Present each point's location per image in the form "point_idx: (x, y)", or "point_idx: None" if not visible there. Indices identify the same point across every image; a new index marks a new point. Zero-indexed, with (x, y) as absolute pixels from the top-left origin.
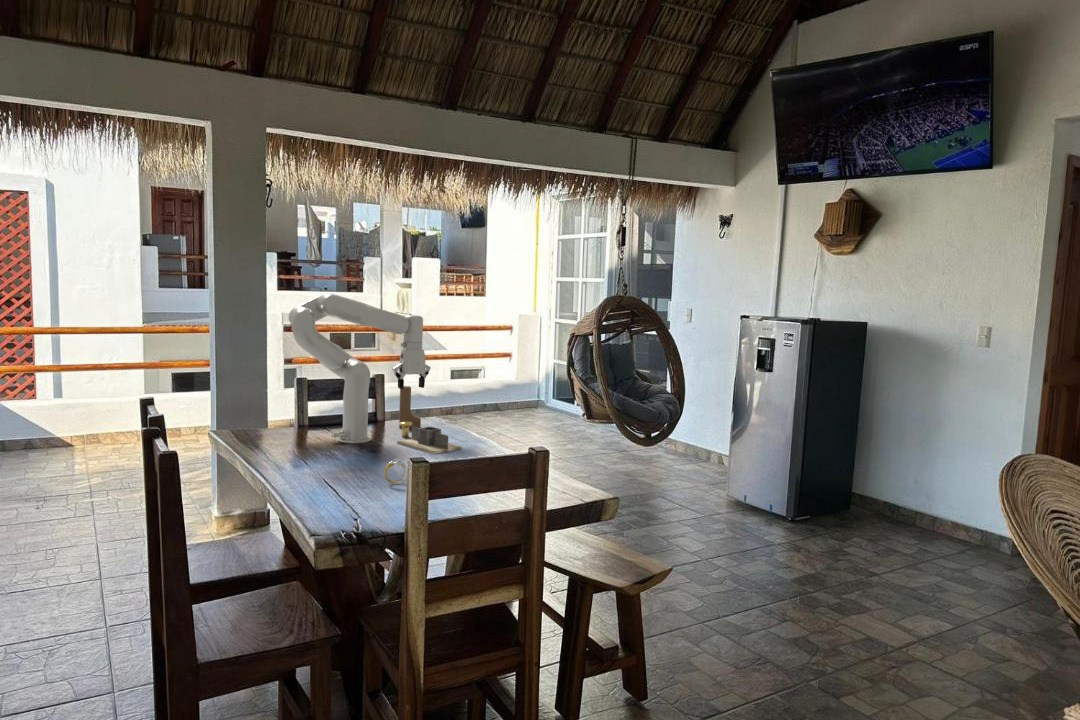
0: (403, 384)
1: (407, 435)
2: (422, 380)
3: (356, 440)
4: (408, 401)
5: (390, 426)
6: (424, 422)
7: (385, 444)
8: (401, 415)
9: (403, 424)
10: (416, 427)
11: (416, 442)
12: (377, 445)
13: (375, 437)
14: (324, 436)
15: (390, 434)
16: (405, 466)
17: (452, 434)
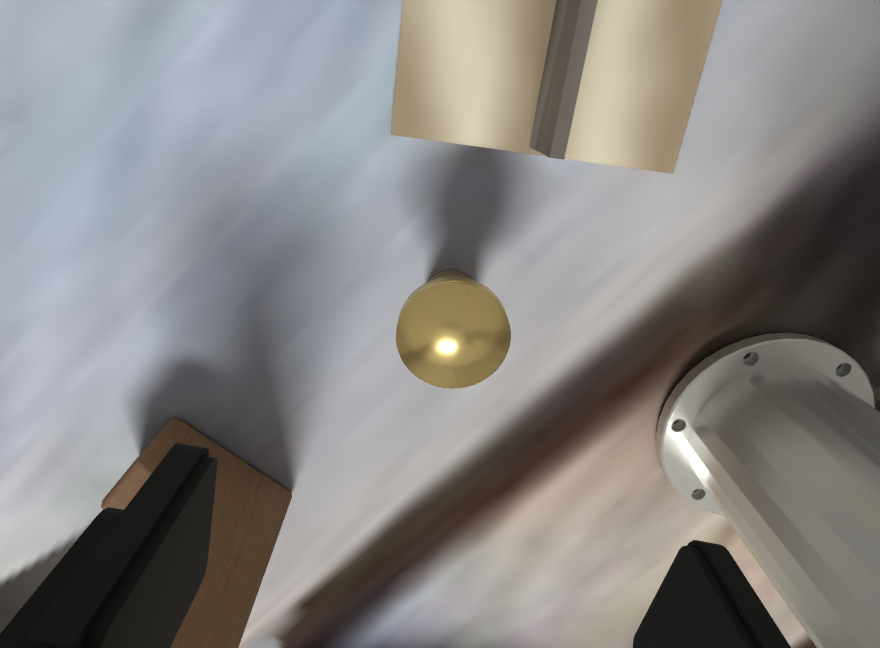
0: (744, 615)
1: (453, 275)
2: (135, 598)
3: (834, 371)
4: None
5: (292, 565)
6: (19, 530)
7: (739, 210)
8: (259, 556)
9: (505, 312)
10: (564, 96)
11: (617, 16)
12: (799, 225)
13: (601, 408)
14: (765, 587)
15: (463, 413)
16: None
17: (77, 109)
